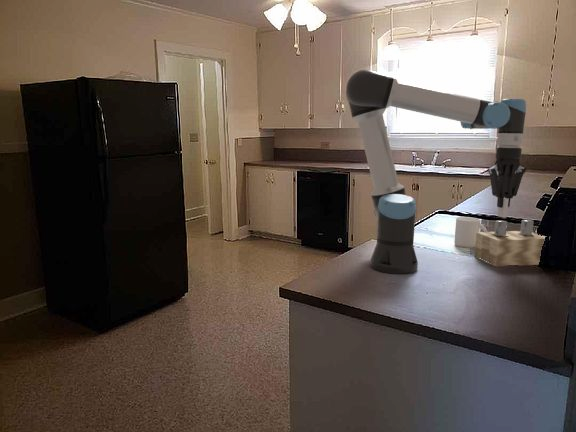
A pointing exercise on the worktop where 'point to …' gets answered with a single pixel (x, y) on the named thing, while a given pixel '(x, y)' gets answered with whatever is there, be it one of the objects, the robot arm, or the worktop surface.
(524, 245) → the socket block
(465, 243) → the mug
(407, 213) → the robot arm
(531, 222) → the peg
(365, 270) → the worktop surface
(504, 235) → the peg
